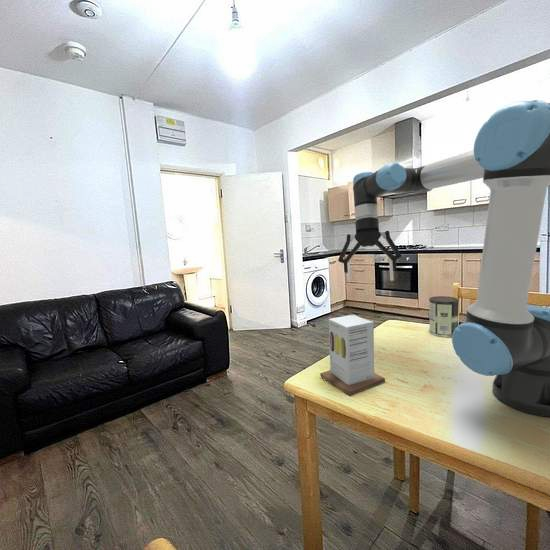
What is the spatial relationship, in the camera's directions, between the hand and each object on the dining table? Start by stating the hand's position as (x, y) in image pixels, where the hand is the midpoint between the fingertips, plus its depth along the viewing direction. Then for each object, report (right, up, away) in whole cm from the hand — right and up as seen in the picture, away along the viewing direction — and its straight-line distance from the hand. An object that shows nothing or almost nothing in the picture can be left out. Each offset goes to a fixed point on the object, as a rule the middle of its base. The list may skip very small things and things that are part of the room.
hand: (370, 281), depth 101 cm
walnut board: (-9, -29, -13) cm, 33 cm away
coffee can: (+36, -21, +20) cm, 47 cm away
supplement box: (-9, -28, -12) cm, 32 cm away
